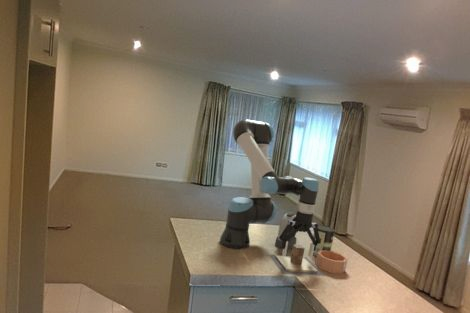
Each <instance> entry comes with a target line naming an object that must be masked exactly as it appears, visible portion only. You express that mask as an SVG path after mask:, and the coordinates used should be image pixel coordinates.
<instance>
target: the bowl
mask: <svg viewBox="0 0 470 313" xmlns="http://www.w3.org/2000/svg"><path fill="white" fill-rule="evenodd" d="M315 260H316V261H315V266H316V267H318V269H319V270H322V271H325V272H329V273H331V274H343V273H344V272H346V269H347V264H348V258H347V257H346V256H345V255H344V254H342V253H339V252H336V251H334V250H331V251H327V250H321V251H319V252H318V254H317V256H316V259H315Z"/></svg>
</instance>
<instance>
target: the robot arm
mask: <svg viewBox="0 0 470 313" xmlns="http://www.w3.org/2000/svg"><path fill="white" fill-rule="evenodd" d="M232 135H233V136H232V137H233V139H234V141H235V143H236V145H237V146H238V147H241V149H242V151H243V153H244V154H245V155H246V156H245V157H247V159H248V161H249V162H250V167H251V168H250V170H251V171H250V172H251V173H250V174H251V175H250V176H251V194H250V196H249V197H244V196H238V197H237V196H236V197H233V198H232V199H230V201H229V205H228V209H227V217H226V223H225V227H224V229H223V232H222V233H221V235H220V238H219V243H220V244H221V245H222V246H224V247H227V248H229V249H233V250H234V249H236V250H242V249H243V250H245V249H248V248H249V247H250V244H251V241H250V233H249V228H250V224H266V223H270V222H271V221H273V220H274V218H275V217H276V215H277V206H276V203H275V202H274V201H272V197H271V195H273V194H279V195H280V194H285V195H286V194H289V195H295V196H297V197H299V198H298V204H297V208H296V209H297V211H296V213H295V215H296V220H295V222H294V221H291V220H289V221H288V225H287V226H286V228H285V229H284V231H283V232H282V234H281V235H280V237H279V239H280V240H281V241H282V248H281V249H282V253H281V256H284V257H286V256H287V252H288V251H287V250H288V249H287V246H288V242H287V241H288V240H289V239H290V238H291V237H292V236H293V235H294V234H295V233H296V234H297V233H298V232H300V233H307V235H308V237H309V239H310V241H311V242H310V244H309V245H310V246H309V249H308V254H307V255H308V258H310V259H313V255H314V254H313V251H315V249H316V245H318V243H319V244H320V243H321V241H320V237H319V233H318V225H319V224H318V223H316V222H315V221H314V222H313V218H314V213H315V209H316V200H317V197H318V193H319V185H320V181H319V180H318V179H316V178H313V177H306V176H304V177H303V178H302V179H300V178H296V177H294V176H291V175H286V176H284V177H282V176H281V177H280V176H278V174H277V173H276V170H275V169H274V168H273V166H272V165H271V163H270V162H269V160H268V149H269V147H270V145H271V143H272V141H273V139H274V137H275V133H274V128H273V126H272V125H271V124H270V123H268V122H264V121H263V120H262V121H259V120H252V119H247V118H246V119H242V120H239V121H237V123H236V124H235V125H234V127H233V131H232ZM293 225H295V226H294V227H293V229H292V230H291V231H290V229H291V227H292V226H293ZM311 228H312V229H313V230H312V231H313V233H312V231H311ZM289 231H290V232H289ZM288 232H289V233H288ZM314 234H315V238H316V240H315V238H314V237H313V235H314ZM312 242H313V243H312Z"/></svg>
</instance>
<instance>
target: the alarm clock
mask: <svg viewBox="0 0 470 313" xmlns="http://www.w3.org/2000/svg"><path fill="white" fill-rule="evenodd" d="M289 220H291V221H294V222H295V220H296V213H295V212H293V211H292V212H291V211H288V212H286V213H285V214H284V215H283V217H282V218H281V220H280V224H279V226H278V227H279V228H278V232H277V236H276V239H275V243H274V247H279V248H281V249H283V248H282V241H281V240H280V239H279V237H280V235H281V234H282V232H283V231H284V229H285V228H286V226H287V225H288V221H289ZM294 226H295V225H293V226H292V227H291V229H290V231H291V230H292V229H293V227H294ZM290 231H289V232H290ZM289 232H288V233H289ZM296 235H297V233H295V234H294V235H293V236H292V237H291V238H290V239H289V240H288V241H287V242H288V246H287V250H292V249H293V245H297V241H298V240H297V237H296Z"/></svg>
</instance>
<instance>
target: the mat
mask: <svg viewBox="0 0 470 313" xmlns="http://www.w3.org/2000/svg"><path fill="white" fill-rule="evenodd" d="M268 257H269V258H270V259H271V261H272V262H273V263H274V264H275V265H276V267H277V268H278V270H280V272H281V273H282V274H284V275H300V276H301V275H302V276H303V275H304V276H321V277H322V276H323V277H326V276H325V274H324V273H323V272H321V269H319V268H317V266H316V265H315V264H313V262H312V261H311V260H310V259H309V258H308V257H304V256H303V257H304V258H305V259H306V260H307V261H308V262H309V263H310V264H311V265H312V266H313V267H314V268H315V269H316V270H317V271H318V272H317V273H309V272H290V271H286V270H285V269H284V268H283V267H282V265H281V264H280V263H279V262H278V260H277V259H276V258H275V255H274V254H268Z"/></svg>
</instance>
